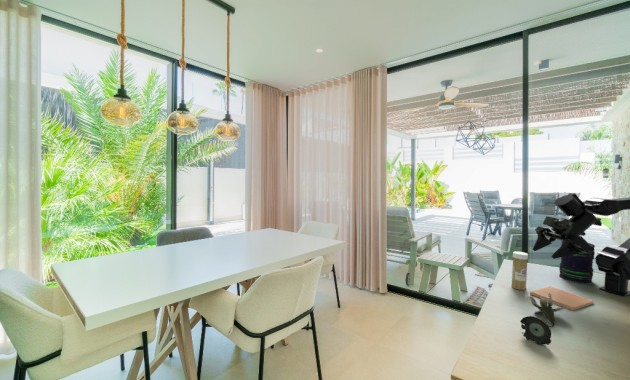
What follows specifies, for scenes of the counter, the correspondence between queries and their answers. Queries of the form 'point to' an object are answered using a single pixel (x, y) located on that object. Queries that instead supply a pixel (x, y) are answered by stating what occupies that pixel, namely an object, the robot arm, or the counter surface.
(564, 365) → the counter surface
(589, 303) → the terracotta tile
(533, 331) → the artificial flower
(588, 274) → the storage jar
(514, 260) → the sprinkles bottle
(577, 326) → the counter surface
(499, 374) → the counter surface
